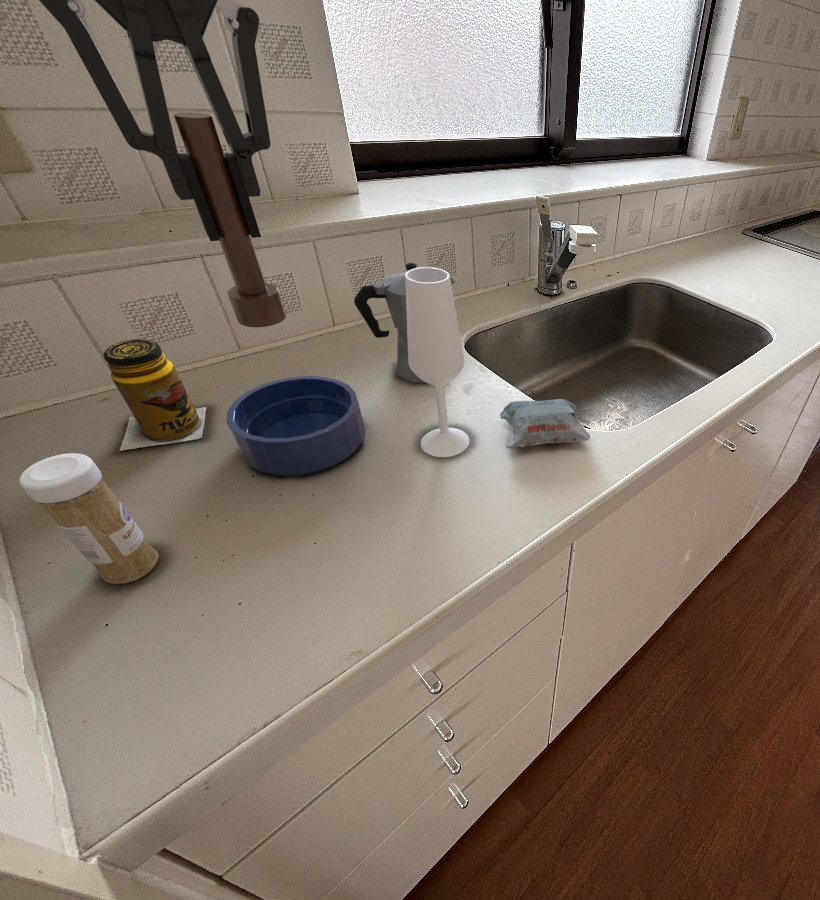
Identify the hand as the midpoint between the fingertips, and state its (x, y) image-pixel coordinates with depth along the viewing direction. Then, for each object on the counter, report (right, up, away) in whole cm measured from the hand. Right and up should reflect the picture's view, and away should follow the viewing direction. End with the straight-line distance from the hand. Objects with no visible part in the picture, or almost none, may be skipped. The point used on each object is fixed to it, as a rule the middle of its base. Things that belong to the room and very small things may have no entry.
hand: (233, 234), depth 47 cm
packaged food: (+26, -19, +27) cm, 42 cm away
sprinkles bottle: (-12, -33, +3) cm, 35 cm away
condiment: (-23, -18, +19) cm, 35 cm away
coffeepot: (+4, -7, +37) cm, 38 cm away
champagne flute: (+13, -20, +24) cm, 33 cm away
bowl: (-5, -20, +20) cm, 28 cm away
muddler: (-1, -7, +5) cm, 9 cm away
